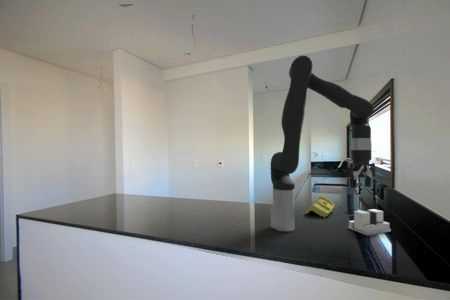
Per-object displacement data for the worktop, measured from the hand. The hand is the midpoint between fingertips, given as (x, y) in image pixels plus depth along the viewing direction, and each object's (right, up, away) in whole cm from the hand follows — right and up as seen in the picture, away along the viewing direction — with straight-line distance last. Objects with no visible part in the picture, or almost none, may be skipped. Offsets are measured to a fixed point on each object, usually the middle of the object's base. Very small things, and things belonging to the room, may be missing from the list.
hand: (360, 187), depth 98 cm
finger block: (0, -17, -1) cm, 17 cm away
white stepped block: (+4, -18, 0) cm, 19 cm away
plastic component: (-5, -19, +28) cm, 34 cm away
